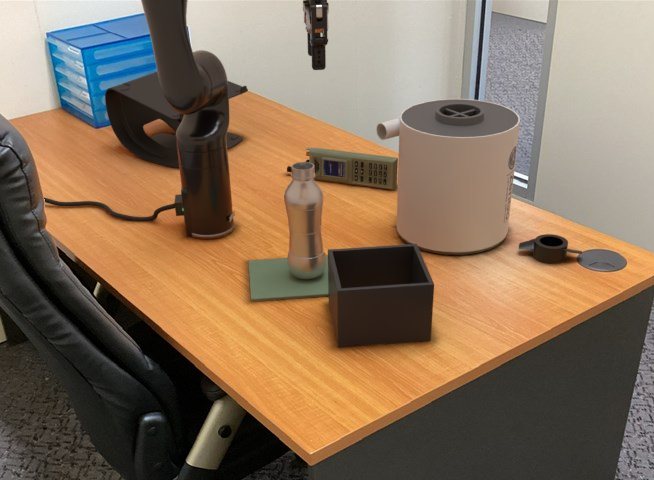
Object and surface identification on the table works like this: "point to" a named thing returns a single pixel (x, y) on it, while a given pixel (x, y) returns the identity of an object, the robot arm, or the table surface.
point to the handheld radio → (353, 168)
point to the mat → (283, 281)
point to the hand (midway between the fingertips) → (316, 62)
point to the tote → (380, 295)
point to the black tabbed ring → (548, 248)
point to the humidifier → (454, 174)
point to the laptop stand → (150, 118)
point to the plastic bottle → (304, 223)
